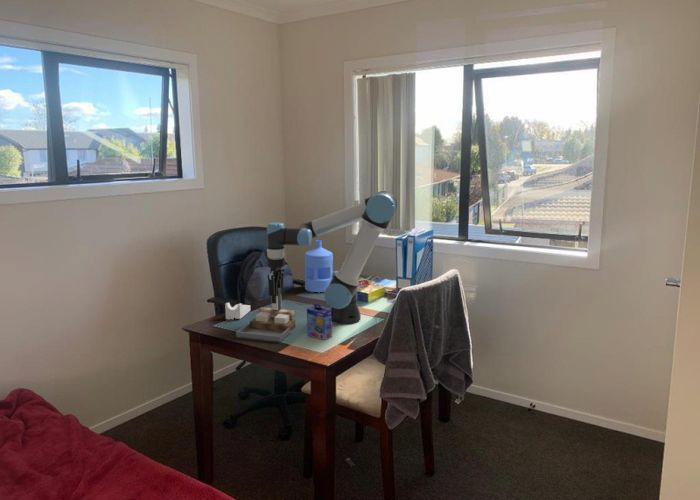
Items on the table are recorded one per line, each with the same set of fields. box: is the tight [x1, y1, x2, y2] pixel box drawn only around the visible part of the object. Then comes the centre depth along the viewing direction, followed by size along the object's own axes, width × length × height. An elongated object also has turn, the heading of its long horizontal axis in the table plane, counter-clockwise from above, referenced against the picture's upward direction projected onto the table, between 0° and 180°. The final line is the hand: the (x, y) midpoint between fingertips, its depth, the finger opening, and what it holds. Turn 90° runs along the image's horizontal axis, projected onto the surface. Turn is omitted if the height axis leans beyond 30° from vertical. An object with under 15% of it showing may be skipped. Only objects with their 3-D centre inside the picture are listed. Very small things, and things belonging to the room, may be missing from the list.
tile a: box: [274, 314, 289, 324], centre depth 236 cm, size 5×5×2 cm
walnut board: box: [249, 317, 296, 332], centre depth 238 cm, size 18×9×4 cm, turn 74°
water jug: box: [304, 239, 334, 294], centre depth 299 cm, size 16×16×28 cm
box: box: [235, 323, 291, 344], centre depth 229 cm, size 20×11×2 cm, turn 74°
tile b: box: [255, 312, 271, 322], centre depth 239 cm, size 5×5×2 cm
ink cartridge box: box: [306, 303, 333, 341], centre depth 228 cm, size 10×6×14 cm, turn 55°
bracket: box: [224, 302, 251, 321], centre depth 255 cm, size 13×7×8 cm, turn 169°
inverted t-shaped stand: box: [258, 288, 295, 319], centre depth 241 cm, size 16×3×13 cm, turn 74°
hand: (276, 308), depth 242 cm, fingers closed on inverted t-shaped stand, 3 cm apart
